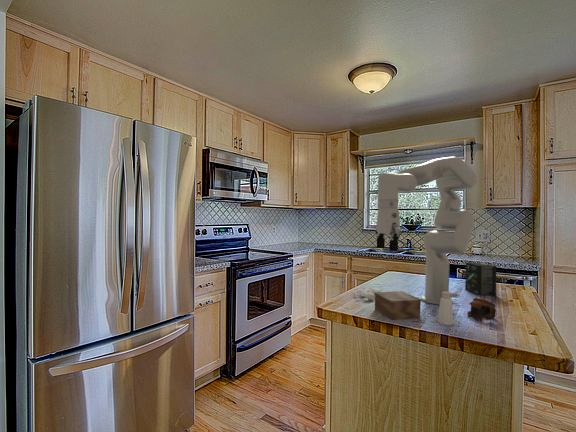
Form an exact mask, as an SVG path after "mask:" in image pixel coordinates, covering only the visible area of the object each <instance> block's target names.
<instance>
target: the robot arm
mask: <svg viewBox="0 0 576 432" xmlns="http://www.w3.org/2000/svg"><path fill="white" fill-rule="evenodd" d="M477 177H478V176H477V173H476V172H475V170H474V169H473V168H472V167H470V166H469V164H468V163H466V162H465V160H463V159H462V158H460V157H458V156H447V157H440V158H435V159H431V160H429V161H427V162H424V163H421V164H419V165H415V166H412V167H409V168H406V169H403V170H398V171H395V172H383V173H382V172H381V173H380V174H378V177H377V217H376V225H375V235H376V236H375V237H376V248H378V249H384V248H385V247H386V246H385V243H386V238H385V236H386V235H387V236H389V239H390V240H389V248H388V249H389V251H390V252H397V251H399V240H400V236H401V231H402V228H401V221H400V220H401V219H400V218H401V217H400V211H399V194H406V193H407V194H408V193H411V192H413V191H415V189H416V188H417V187H418V186H423V185H427V184H429V183H431V182H434V181H435V185H436V187H437V190H438V192H439V195H440V202H439V205H438V208H437V211H436V213H435V217H434V221H433V223H434V227H435V228H437V229H438V230H430V231H428V232H426V234H425V235H424V237H423V244H424V252H425V281H424V283H425V284H424V286H425V287H424V295H422V296H421V297H420V299H421V301H423V302H424V303H428V304H431V305H438V306H440V299H441V298H442V292H444V291H446V292H450V293H451V295H450V299H451V300H452V298H457V297H458V296H459V295H458V293H457V292H452V291H449V289H450V260H449V258H448V256H447V254H451V255H462V254H464V253H465V252H466V250H467V249H468V246H469V243H470V240H471V237H472V233H473V231H474V230H473V229H474V228H475V227H474V226H475V217H474V214H473V213H472V211H470V210H469V209H460V208H461V204H462V200H461V198H460V197H459V195H458V193H456V190H469V189H472V188H474V187H475V186H476V184H477V181H478V178H477Z"/></svg>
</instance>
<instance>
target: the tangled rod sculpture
mask: <svg viewBox="0 0 576 432" xmlns="http://www.w3.org/2000/svg"><path fill="white" fill-rule="evenodd" d="M374 292H384V290H383V289H379V288H375V287H368V288H363V289H362V288H361V289H356V291H355V292H354V294H355V296H360V297H364V298H365V299H367V300H368V301H373V300H374V301H375V294H374Z"/></svg>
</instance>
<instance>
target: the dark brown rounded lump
mask: <svg viewBox="0 0 576 432" xmlns="http://www.w3.org/2000/svg"><path fill="white" fill-rule="evenodd" d="M469 305H470V310H468V311H467V318H472V319H473V320H474V319H475V320H477V321H480V322H483V319H484V318H485V320H488V321H489V320H492V319H494V318H496V313H497V309H496V304H495V303H493V302H491V301H489V300H486V299H483V298H477V297H475V298H473V299H472V301H471V302H469Z"/></svg>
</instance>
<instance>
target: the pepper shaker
mask: <svg viewBox="0 0 576 432" xmlns="http://www.w3.org/2000/svg"><path fill="white" fill-rule="evenodd" d="M450 292H451V291H449V292H446V291H444V292H442V298H441V299H440V305H438V306H439V307H438V314H437V322H438V324H441V325H444V326H454V325H455V322H454V310H453V308H454V307H453V300H452V298H451V299H450V295H451V293H452V292H451V293H450ZM453 324H454V325H453Z"/></svg>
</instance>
